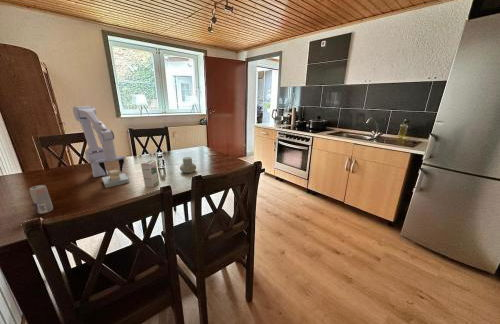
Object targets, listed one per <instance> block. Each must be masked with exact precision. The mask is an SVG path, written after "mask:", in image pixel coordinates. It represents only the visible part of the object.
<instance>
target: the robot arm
mask: <svg viewBox="0 0 500 324" xmlns="http://www.w3.org/2000/svg"><path fill="white" fill-rule="evenodd" d="M96 110H97V109H96V108H95V107H94V106H93V105H83V106H82V105H79V106H76V105H74V106H73V107H72V113H73V115H74V119H75V120H76V121H77V122H79V124H80V125H81V126H80V127H81V128H82V131H83V134H84V138H85V140H86V143H87V146H88V147H87V149H86V150H85V151H84V155H85V160H86V162H88V163H89V164H90V166H91V170H92V172H91V173H92V177H93V178H97V177H104V176H109V171H108V170H107V168H106V164H105V163H109V162H110V163H111V162H117V161H118V165H119V172H120V173H122V172H123V166H124V164H125V163H124V162H125V160H126V159H127V158H126V156H125V155H120V156H119V155H118V156H117V153H116V149H115V143H114V140H115V134H114V132H113V130H112V129H109V128H108V127H107V126H106V125H105V123H104V122H103V121H100V120H99V118H98V117H97V111H96ZM94 131H95V133H96V134H97V138H98V140H99V142H100V143H99V144H100V145H101V147H100V146H99V145H98V142H97V139H96V135H95V133H94Z"/></svg>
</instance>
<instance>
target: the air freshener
mask: <svg viewBox="0 0 500 324" xmlns="http://www.w3.org/2000/svg"><path fill="white" fill-rule="evenodd" d="M196 169H197V166H196V164H195V163H194V162H193V158H192V157H191V156H185V157H183V158H182V164H181V165H180V166H179V170H180V171H181V172H182V173H185V174H192V173H193V172H195V171H196Z"/></svg>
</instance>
